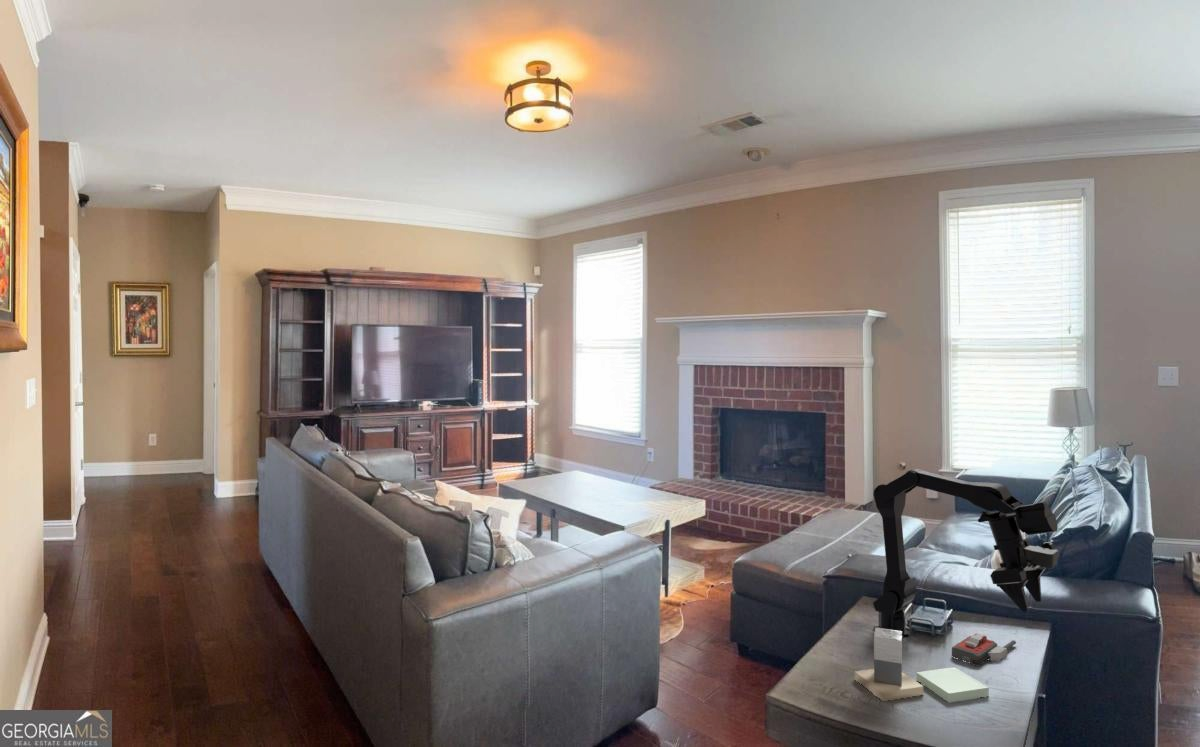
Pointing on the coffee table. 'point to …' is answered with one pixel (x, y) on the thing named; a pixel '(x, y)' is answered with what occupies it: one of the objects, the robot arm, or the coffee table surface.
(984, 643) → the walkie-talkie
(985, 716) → the coffee table surface
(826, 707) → the coffee table surface
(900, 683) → the block
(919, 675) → the stand
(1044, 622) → the coffee table surface
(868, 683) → the stand
